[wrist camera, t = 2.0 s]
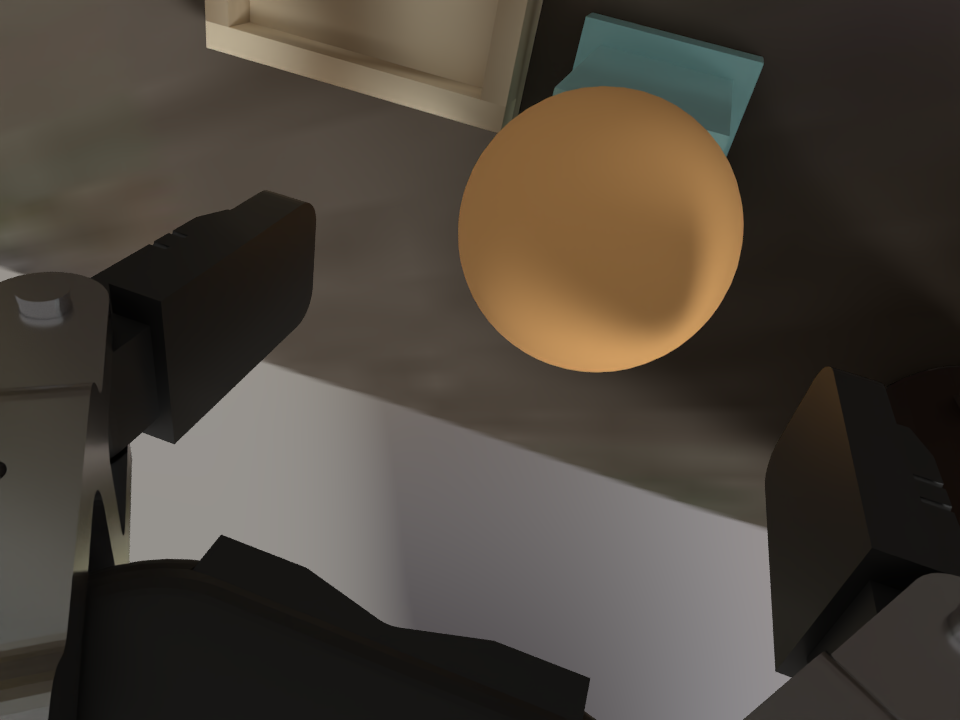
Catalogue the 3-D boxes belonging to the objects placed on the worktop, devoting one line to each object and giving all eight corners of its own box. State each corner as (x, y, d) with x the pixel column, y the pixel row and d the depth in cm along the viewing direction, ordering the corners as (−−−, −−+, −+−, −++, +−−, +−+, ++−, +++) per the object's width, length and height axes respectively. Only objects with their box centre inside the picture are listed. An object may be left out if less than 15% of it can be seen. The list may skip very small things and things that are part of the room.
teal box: (763, 57, 20) (771, 115, 14) (698, 219, 23) (683, 321, 17) (592, 12, 20) (534, 50, 15) (550, 175, 23) (488, 259, 18)
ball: (787, 101, 14) (806, 188, 10) (690, 326, 17) (672, 467, 13) (530, 32, 15) (441, 84, 11) (482, 258, 18) (398, 370, 14)
